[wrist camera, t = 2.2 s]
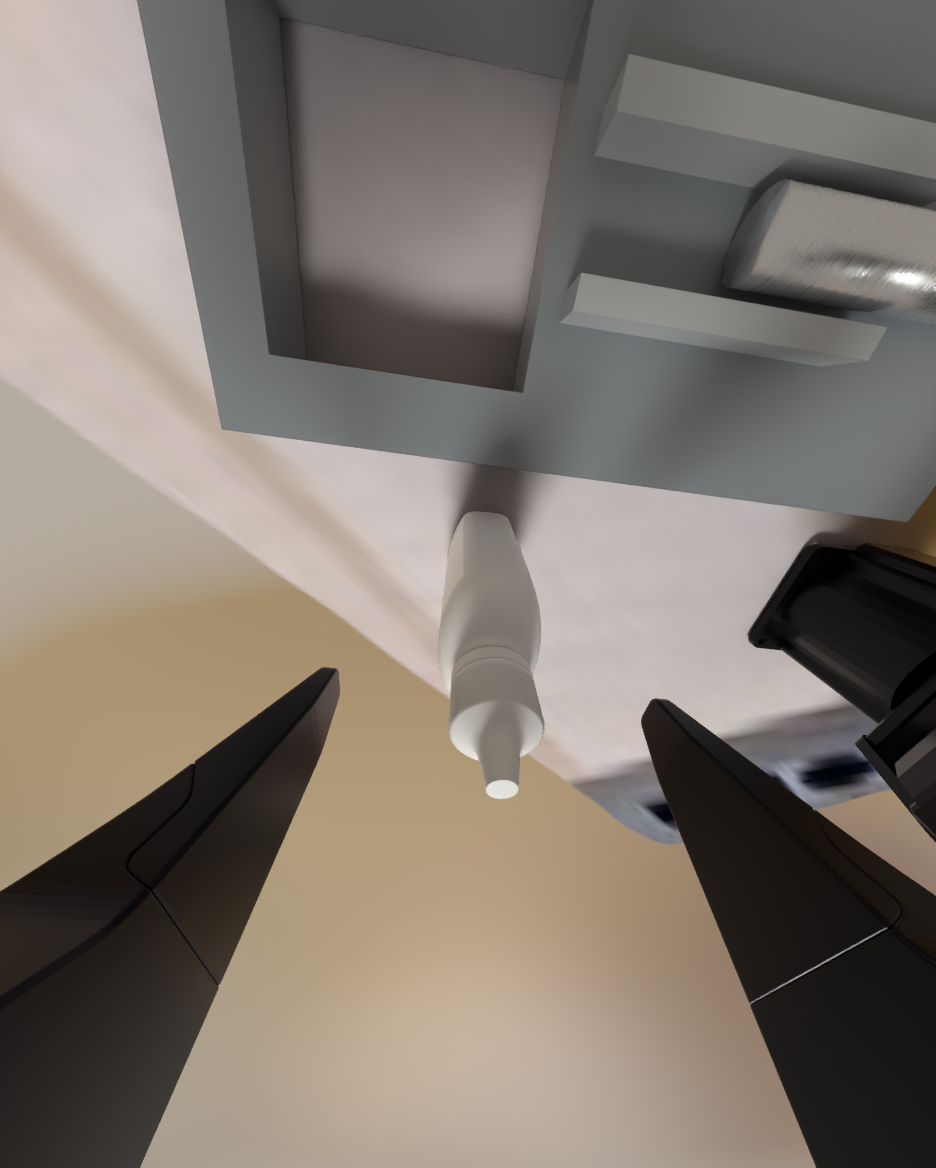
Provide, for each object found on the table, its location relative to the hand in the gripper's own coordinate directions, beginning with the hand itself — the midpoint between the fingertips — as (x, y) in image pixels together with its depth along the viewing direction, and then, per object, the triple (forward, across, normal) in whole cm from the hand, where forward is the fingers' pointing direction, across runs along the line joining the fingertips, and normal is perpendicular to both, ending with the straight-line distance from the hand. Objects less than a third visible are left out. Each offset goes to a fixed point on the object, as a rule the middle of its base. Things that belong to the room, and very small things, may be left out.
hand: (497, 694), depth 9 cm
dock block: (+9, -3, -12) cm, 16 cm away
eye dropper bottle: (+10, 0, 0) cm, 10 cm away
